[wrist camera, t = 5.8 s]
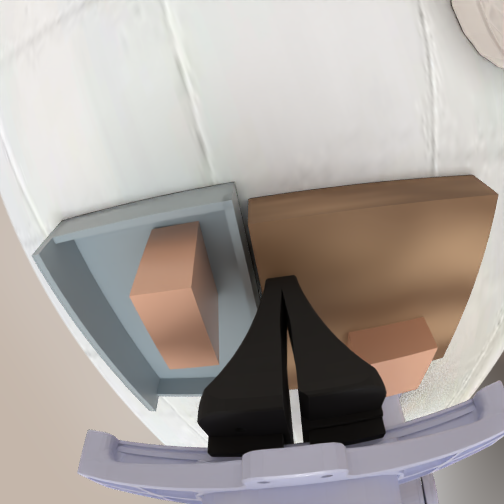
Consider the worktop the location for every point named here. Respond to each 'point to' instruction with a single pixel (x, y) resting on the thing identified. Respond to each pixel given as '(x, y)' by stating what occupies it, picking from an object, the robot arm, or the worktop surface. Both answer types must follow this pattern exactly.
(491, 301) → the worktop surface
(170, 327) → the tile near
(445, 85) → the worktop surface
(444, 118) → the worktop surface
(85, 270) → the tray
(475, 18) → the white cup
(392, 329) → the tile far
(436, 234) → the board
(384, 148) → the worktop surface
